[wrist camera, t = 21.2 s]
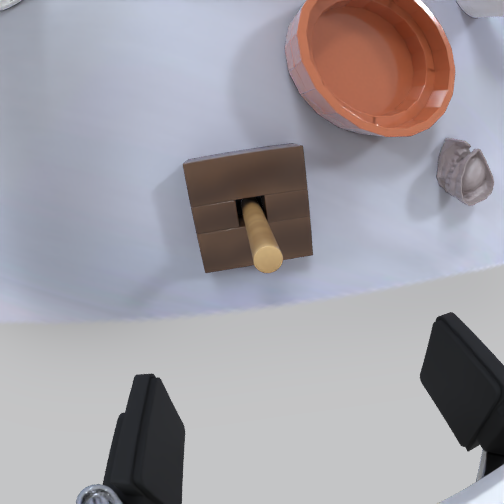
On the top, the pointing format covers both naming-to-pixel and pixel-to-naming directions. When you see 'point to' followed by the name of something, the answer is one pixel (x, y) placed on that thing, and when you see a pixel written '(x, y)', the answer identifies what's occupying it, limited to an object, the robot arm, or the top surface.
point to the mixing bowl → (371, 64)
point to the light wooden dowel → (260, 237)
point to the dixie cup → (482, 8)
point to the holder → (245, 186)
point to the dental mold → (464, 172)
